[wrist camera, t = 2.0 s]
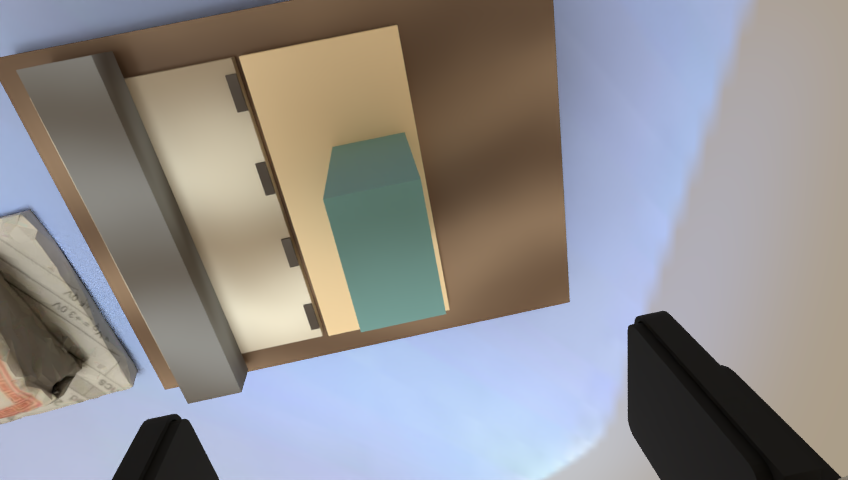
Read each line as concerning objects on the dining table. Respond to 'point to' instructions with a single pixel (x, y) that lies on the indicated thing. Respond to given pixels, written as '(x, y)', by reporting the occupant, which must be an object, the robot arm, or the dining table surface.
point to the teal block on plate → (352, 176)
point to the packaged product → (50, 328)
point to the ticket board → (259, 186)
